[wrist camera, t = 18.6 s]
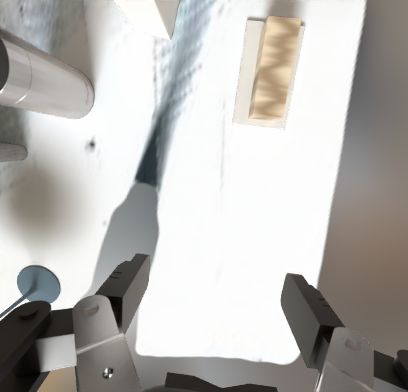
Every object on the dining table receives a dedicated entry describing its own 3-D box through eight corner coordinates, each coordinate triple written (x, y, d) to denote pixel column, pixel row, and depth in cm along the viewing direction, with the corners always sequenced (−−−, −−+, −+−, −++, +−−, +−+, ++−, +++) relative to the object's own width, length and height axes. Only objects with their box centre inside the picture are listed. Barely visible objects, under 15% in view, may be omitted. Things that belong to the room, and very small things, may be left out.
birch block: (252, 114, 34) (268, 15, 31) (248, 118, 39) (260, 33, 36) (282, 117, 34) (301, 18, 31) (274, 121, 39) (289, 36, 36)
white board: (232, 123, 40) (232, 123, 40) (246, 22, 36) (247, 19, 35) (283, 129, 40) (284, 129, 39) (303, 28, 36) (305, 26, 35)
